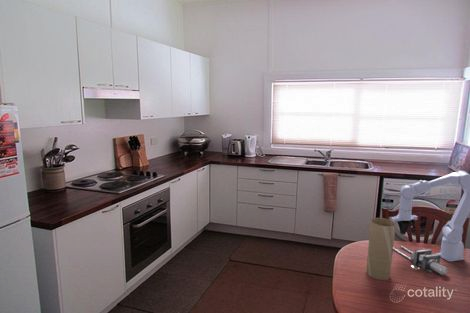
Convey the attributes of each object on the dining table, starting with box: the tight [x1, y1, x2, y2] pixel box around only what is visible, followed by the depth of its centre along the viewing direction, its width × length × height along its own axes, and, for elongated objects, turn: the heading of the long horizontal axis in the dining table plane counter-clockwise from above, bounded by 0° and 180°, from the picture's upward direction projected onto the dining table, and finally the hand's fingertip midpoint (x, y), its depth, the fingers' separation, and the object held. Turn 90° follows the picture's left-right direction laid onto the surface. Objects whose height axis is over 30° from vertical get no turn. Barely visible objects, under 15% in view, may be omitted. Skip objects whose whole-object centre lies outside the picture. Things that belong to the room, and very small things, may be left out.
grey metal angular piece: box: [393, 245, 442, 275], centre depth 157 cm, size 12×25×7 cm, turn 15°
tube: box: [365, 217, 397, 281], centre depth 143 cm, size 10×10×25 cm
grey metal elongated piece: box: [410, 250, 448, 276], centre depth 151 cm, size 16×4×4 cm, turn 19°
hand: (402, 233), depth 166 cm, fingers closed
